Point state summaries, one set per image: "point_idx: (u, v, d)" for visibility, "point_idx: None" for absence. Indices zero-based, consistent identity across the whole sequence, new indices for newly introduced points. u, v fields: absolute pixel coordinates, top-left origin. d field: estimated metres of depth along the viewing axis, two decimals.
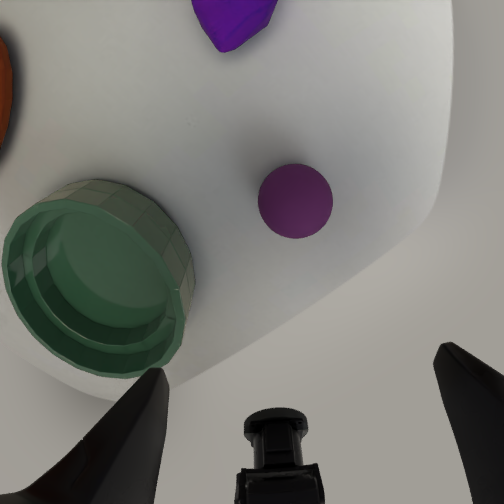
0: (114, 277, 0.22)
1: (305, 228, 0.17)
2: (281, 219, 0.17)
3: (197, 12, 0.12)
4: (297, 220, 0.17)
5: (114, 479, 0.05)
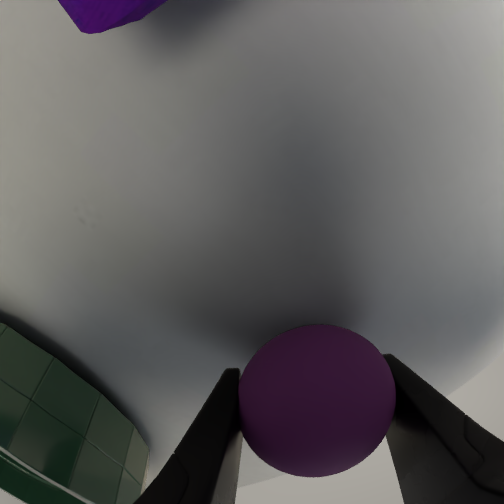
0: None
1: (331, 474, 0.07)
2: (284, 470, 0.06)
3: None
4: (318, 475, 0.06)
5: (219, 491, 0.05)
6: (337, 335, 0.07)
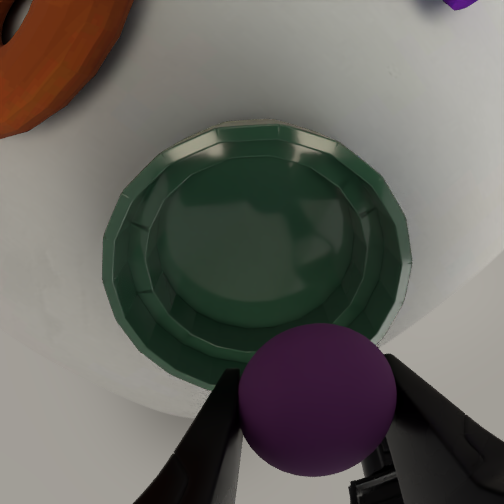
0: (269, 258, 0.18)
1: (332, 473, 0.06)
2: (284, 469, 0.06)
3: None
4: (319, 474, 0.06)
5: (219, 491, 0.05)
6: (338, 334, 0.07)
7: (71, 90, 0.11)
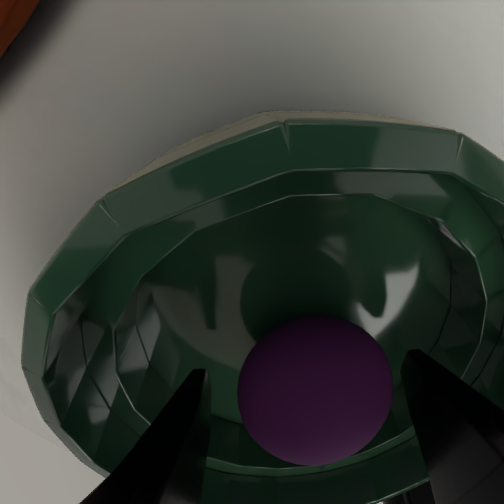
0: None
1: (331, 462, 0.07)
2: (284, 457, 0.07)
3: None
4: (318, 462, 0.06)
5: (172, 488, 0.05)
6: (335, 324, 0.08)
7: None
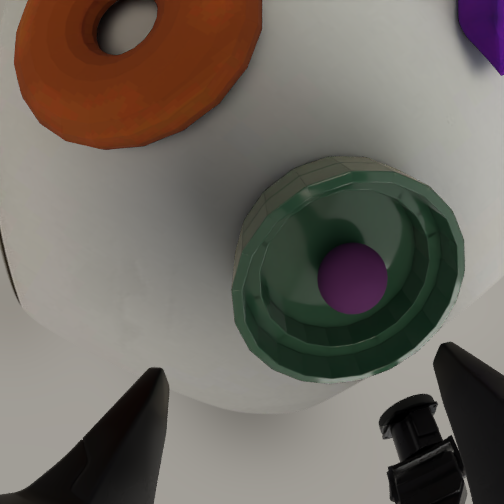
0: None
1: (364, 309, 0.17)
2: (345, 302, 0.17)
3: (498, 38, 0.10)
4: (359, 303, 0.17)
5: (114, 479, 0.05)
6: (359, 243, 0.18)
7: (201, 114, 0.15)
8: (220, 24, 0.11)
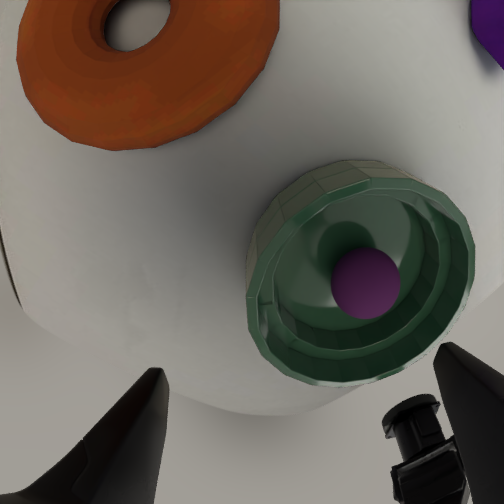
0: None
1: (378, 314, 0.17)
2: (360, 308, 0.17)
3: None
4: (374, 309, 0.17)
5: (114, 479, 0.05)
6: (373, 248, 0.18)
7: (216, 115, 0.14)
8: (239, 22, 0.10)
